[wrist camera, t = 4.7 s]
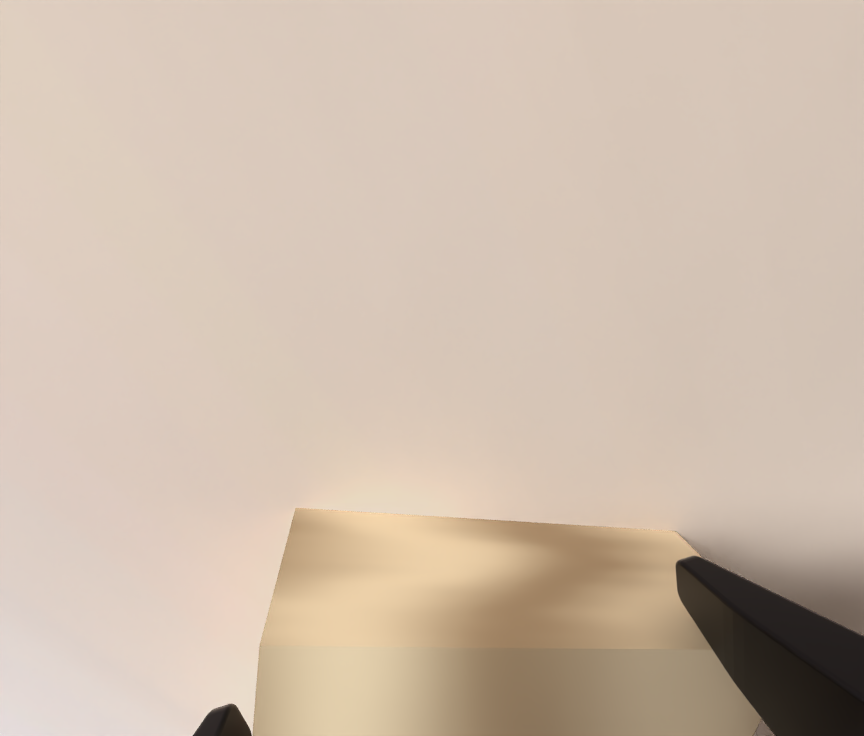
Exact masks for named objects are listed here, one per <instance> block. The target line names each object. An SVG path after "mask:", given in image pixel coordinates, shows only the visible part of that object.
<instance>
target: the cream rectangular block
mask: <svg viewBox="0 0 864 736" xmlns="http://www.w3.org/2000/svg"><path fill="white" fill-rule="evenodd" d="M689 556H699V557H701V556H700V555H699V554H698V553H697V552H696V551H695V550H694V549H693V548H692V547H691V546H690V545H689V544H688V543H687V542H686V541H685V540H684V539H683V538H682V537H681V536H680V535H679V534H678V533H677V532H676V531H662V530H646V529H630V528H613V527H597V526H581V525H565V524H549V523H532V522H516V521H500V520H484V519H468V518H451V517H435V516H419V515H403V514H387V513H370V512H354V511H338V510H322V509H306V508H296V509H295V513H294V517H293V520H292V524H291V528H290V532H289V536H288V539H287V543H286V547H285V551H284V555H283V559H282V562H281V566H280V570H279V574H278V578H277V581H276V585H275V589H274V593H273V597H272V601H271V604H270V608H269V612H268V616H267V620H266V623H265V627H264V631H263V635H262V639H261V643H260V647H259V660H258V673H257V685H256V698H255V711H254V723H253V736H753V735H754V733H755V731H756V729H757V727H758V725H759V723H760V721H761V719H762V718H761V717H760V715H759V714H758V713H757V712H756V710H755V709H754V708H753V706H752V705H751V704H750V703H749V701H748V700H747V699H746V697H745V696H744V695H743V694H742V692H741V691H740V690H739V688H738V687H737V685H736V684H735V683H734V681H733V680H732V678H731V677H730V676H729V674H728V673H727V671H726V670H725V668H724V667H723V665H722V664H721V662H720V660H719V659H718V657H717V656H716V654H715V653H714V651H713V650H712V648H711V647H710V645H709V643H708V642H707V640H706V639H705V637H704V636H703V634H702V633H701V631H700V630H699V628H698V627H697V625H696V623H695V622H694V620H693V619H692V617H691V616H690V614H689V613H688V611H687V610H686V608H685V607H684V605H683V603H682V602H681V600H680V597H679V595H678V591H677V581H676V568H675V566H676V562H677V561H678V560H680V559H683V558H686V557H689ZM701 558H702V557H701Z"/></svg>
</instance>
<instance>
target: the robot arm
mask: <svg viewBox="0 0 864 736" xmlns="http://www.w3.org/2000/svg"><path fill="white" fill-rule="evenodd" d="M675 568H676V581H677V591H678V595H679V597H680V600H681V602H682V603H683V605H684V607H685V608H686V610H687V611H688V613H689V614H690V616H691V617H692V619H693V620H694V622H695V623H696V625H697V627H698V628H699V630H700V631H701V633H702V634H703V636H704V637H705V639H706V640H707V642H708V643H709V645H710V647H711V648H712V650H713V651H714V653H715V654H716V656H717V657H718V659H719V660H720V662H721V664H722V665H723V667H724V668H725V670H726V671H727V673H728V674H729V676H730V677H731V678H732V680H733V681H734V683H735V684H736V685H737V687H738V688H739V690H740V691H741V692H742V694H743V695H744V696H745V697H746V699H747V700H748V701H749V703H750V704H751V705H752V706H753V708H754V709H755V710H756V712H757V713H758V714H759V715H760V717H761V718H762V719H763V721H764V722H765V723H766V724H767V726H768V727H769V728H770V730H771V731H772V732H773V733H774V735H775V736H864V636H863V635H861V634H859V633H857V632H854V631H852V630H850V629H848V628H846V627H844V626H842V625H840V624H838V623H836V622H834V621H832V620H830V619H828V618H826V617H823V616H821V615H819V614H817V613H815V612H813V611H811V610H809V609H807V608H805V607H803V606H801V605H799V604H797V603H795V602H792V601H790V600H788V599H786V598H784V597H782V596H780V595H778V594H776V593H774V592H772V591H770V590H768V589H766V588H764V587H761V586H759V585H757V584H755V583H753V582H751V581H749V580H747V579H745V578H743V577H741V576H739V575H737V574H735V573H732V572H730V571H728V570H726V569H724V568H722V567H720V566H718V565H716V564H714V563H712V562H710V561H708V560H706V559H704V558H701V557H699V556H689V557H686V558H683V559H680V560H678V561H677V562H676V566H675ZM193 736H252V735H251V731H250V728H249V727H248V725H247V723H246V721H245V720H244V718H243V716H242V715H241V713H240V711H239V710H238V708H237V706H236V705H234V704H228V705H225V706H222V707H218V708H215V709H213V710H212V711H211V712H210V713H209V714H208V715H207V716H206V717H205V719H204V720H203V722H202V723H201V725H200V726H199V728H198V729H197V730H196V732H195V733H194V735H193Z"/></svg>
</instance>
